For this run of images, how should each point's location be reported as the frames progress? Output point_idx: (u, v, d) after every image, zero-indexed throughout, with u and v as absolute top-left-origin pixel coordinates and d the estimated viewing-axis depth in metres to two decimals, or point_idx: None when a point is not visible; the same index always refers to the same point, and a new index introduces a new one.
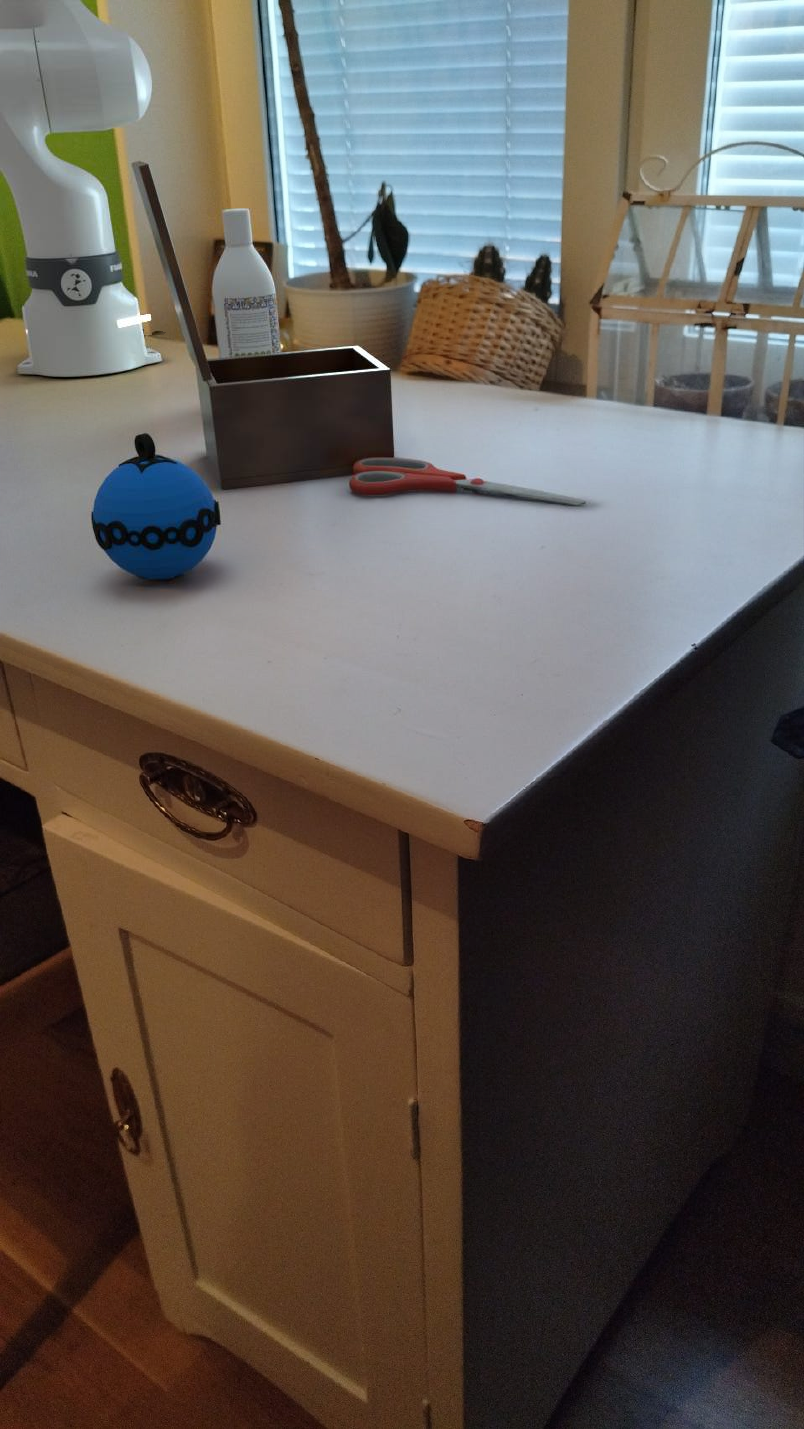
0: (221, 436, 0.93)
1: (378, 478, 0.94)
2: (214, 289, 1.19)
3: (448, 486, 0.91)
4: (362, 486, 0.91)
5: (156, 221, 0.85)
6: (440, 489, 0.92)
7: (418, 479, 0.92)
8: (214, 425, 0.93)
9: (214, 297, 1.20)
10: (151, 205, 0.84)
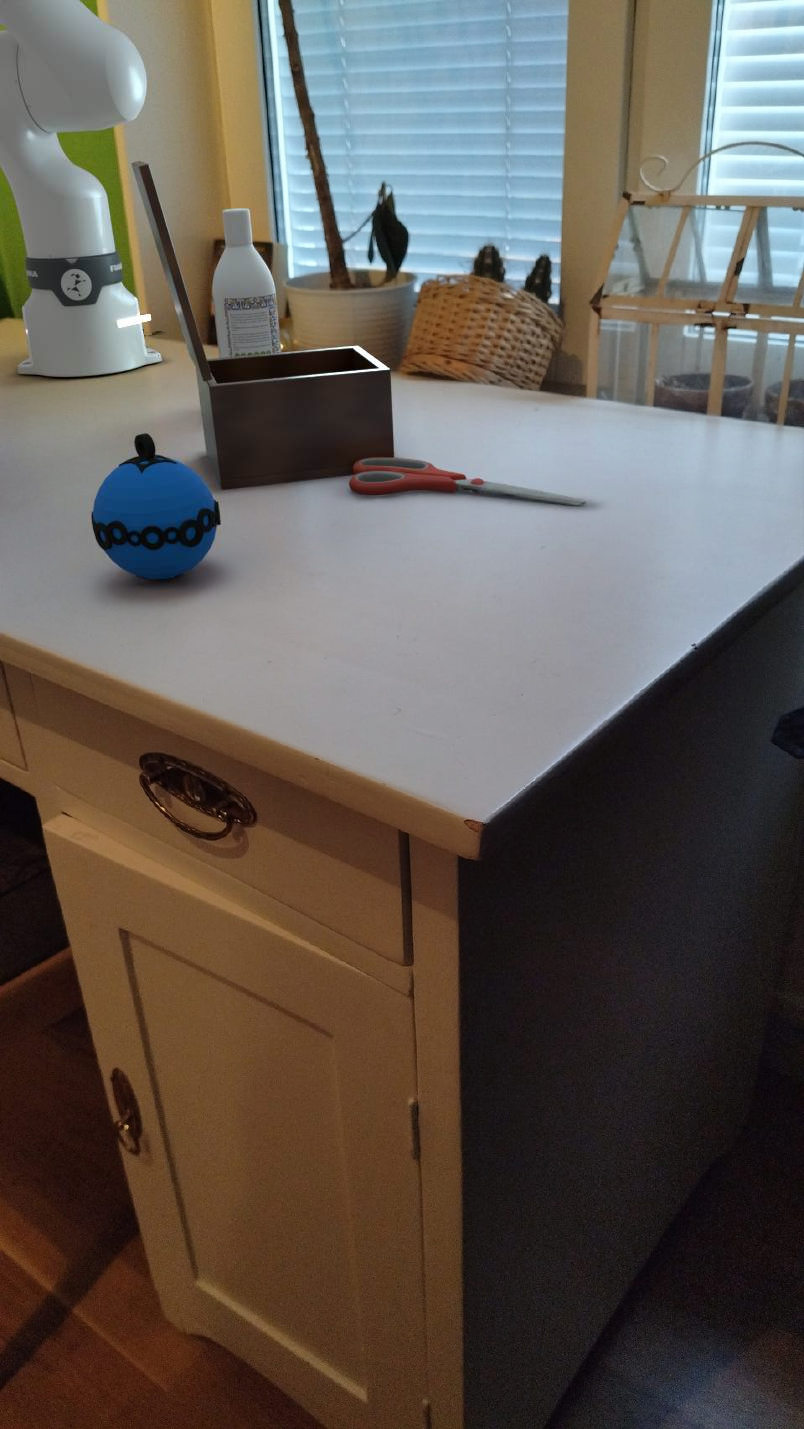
0: (221, 436, 0.93)
1: (378, 478, 0.94)
2: (214, 289, 1.19)
3: (448, 486, 0.91)
4: (362, 486, 0.91)
5: (156, 221, 0.85)
6: (440, 489, 0.92)
7: (418, 479, 0.92)
8: (214, 425, 0.93)
9: (214, 297, 1.20)
10: (151, 205, 0.84)
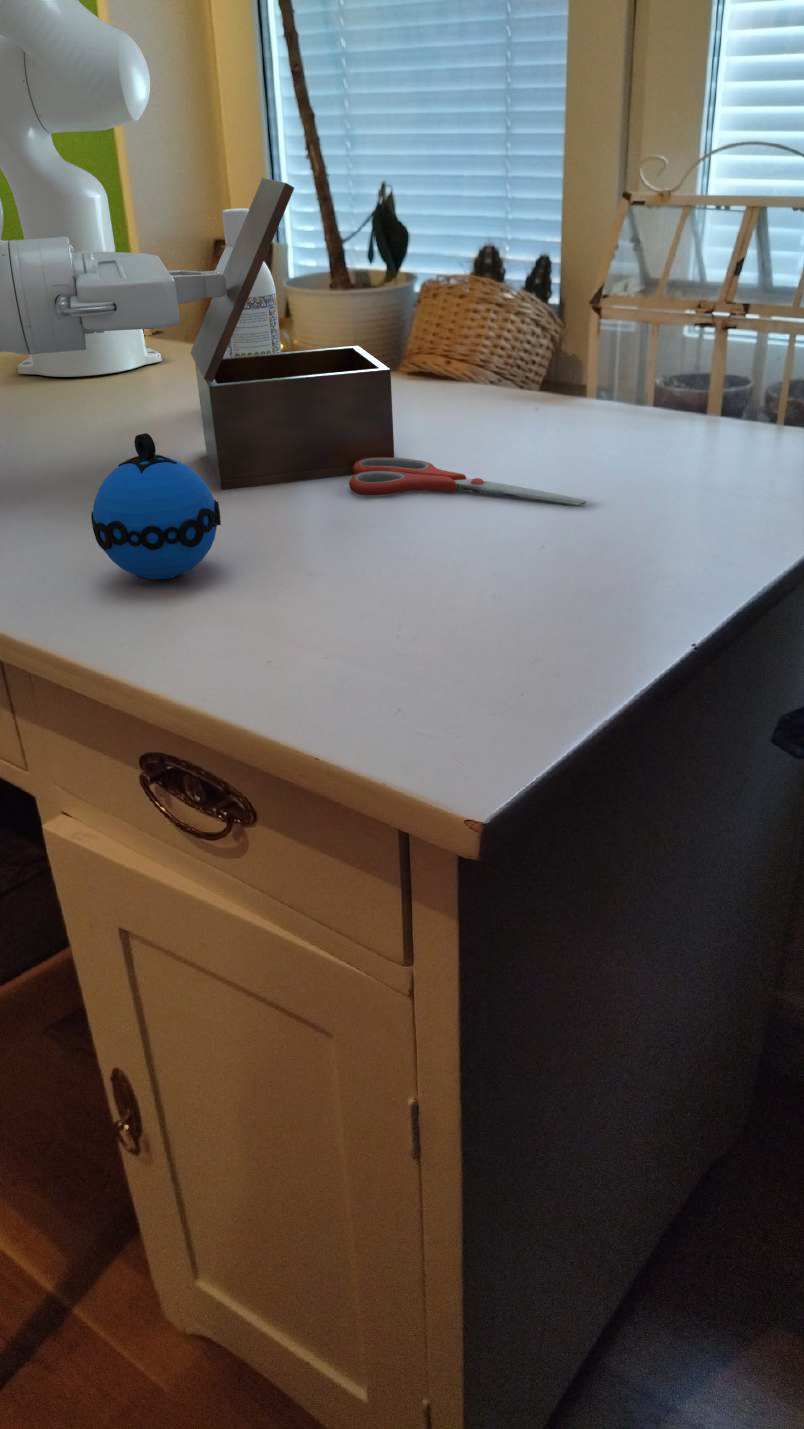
0: (221, 436, 0.93)
1: (378, 478, 0.94)
2: None
3: (448, 486, 0.91)
4: (362, 486, 0.91)
5: (266, 232, 0.87)
6: (440, 489, 0.92)
7: (418, 479, 0.92)
8: (214, 425, 0.93)
9: None
10: (272, 218, 0.87)
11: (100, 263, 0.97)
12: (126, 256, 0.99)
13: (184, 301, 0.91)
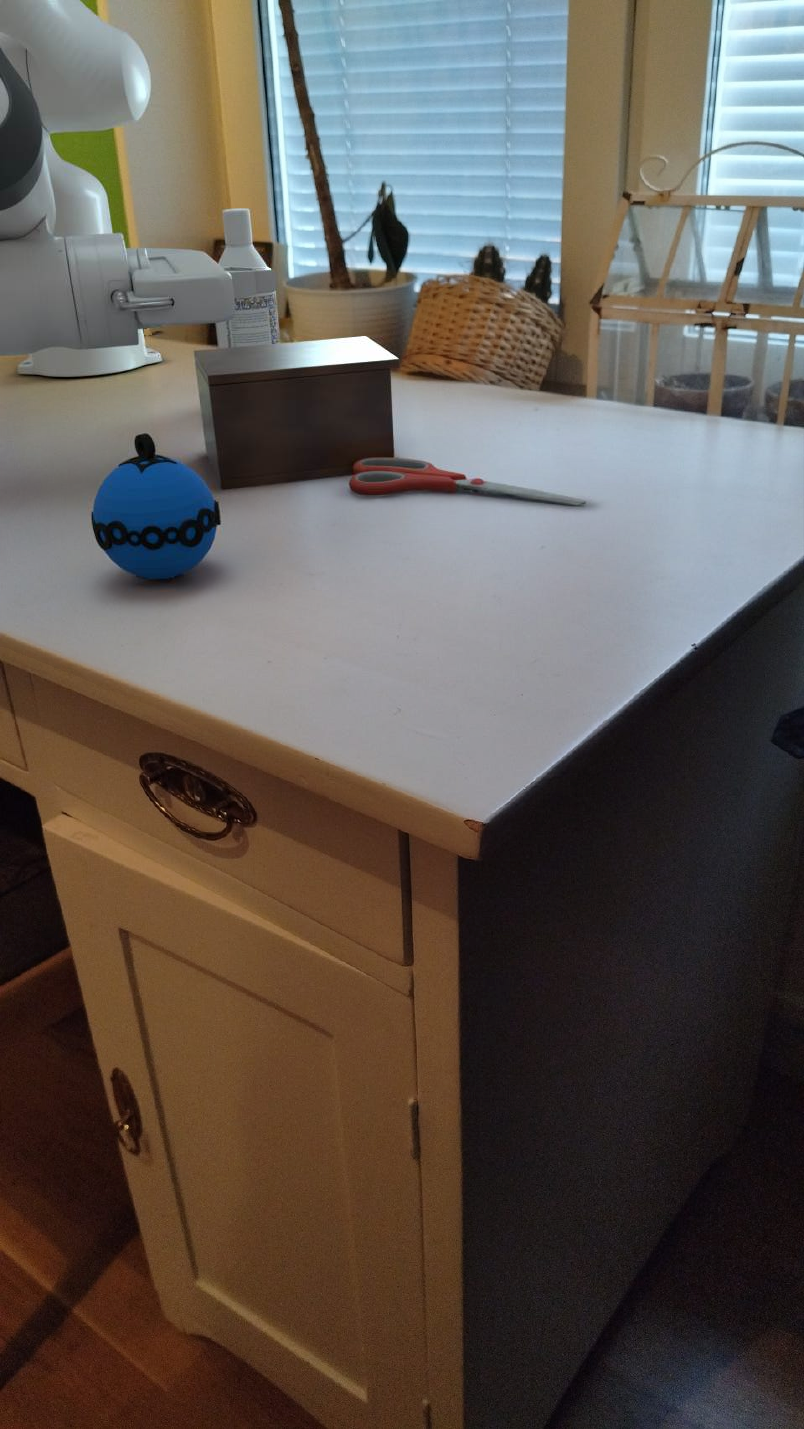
0: (221, 436, 0.93)
1: (378, 478, 0.94)
2: None
3: (448, 486, 0.91)
4: (362, 486, 0.91)
5: (354, 364, 0.94)
6: (440, 489, 0.92)
7: (418, 479, 0.92)
8: (214, 425, 0.93)
9: None
10: (367, 362, 0.94)
11: (149, 259, 0.98)
12: (174, 252, 1.00)
13: (236, 296, 0.92)
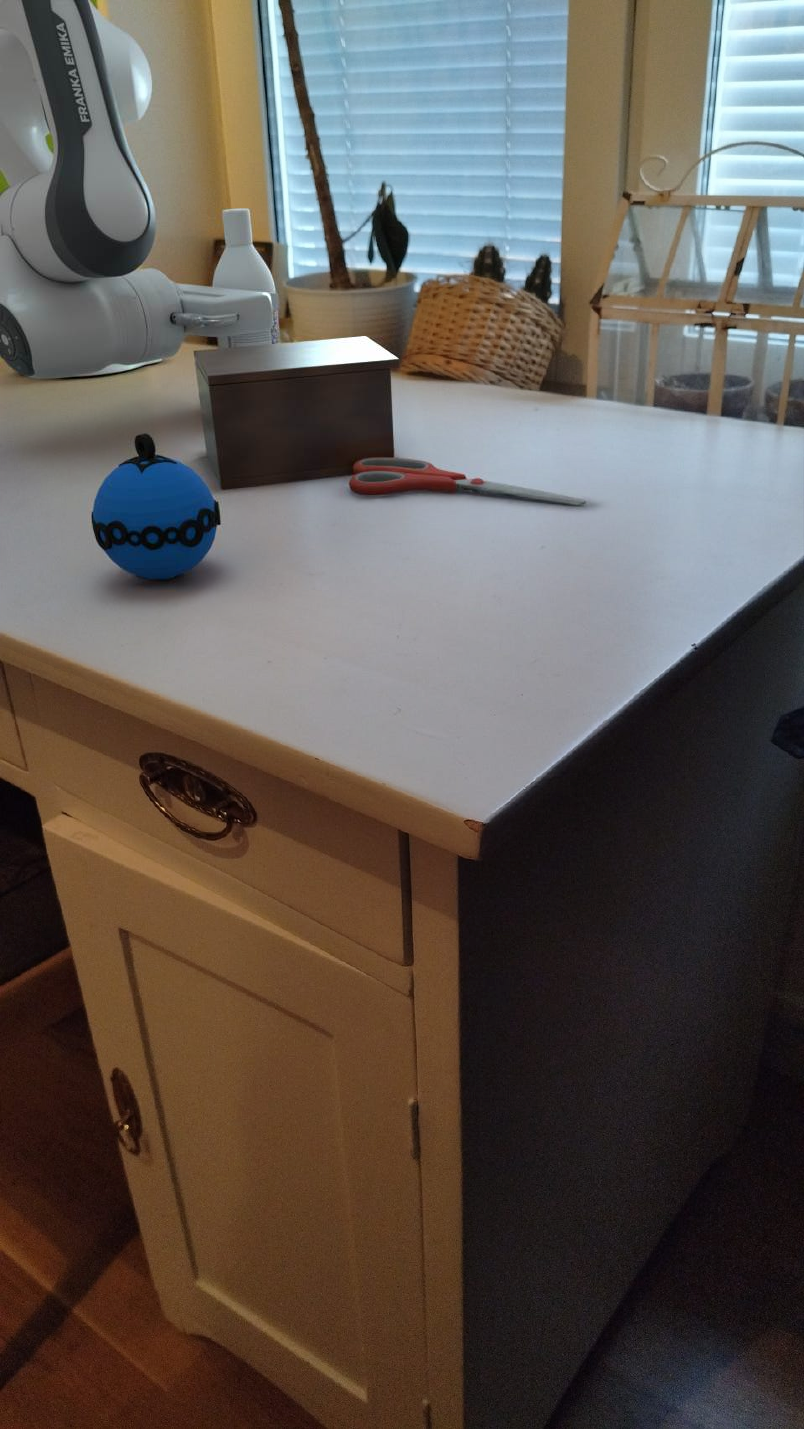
0: (221, 436, 0.93)
1: (378, 478, 0.94)
2: None
3: (448, 486, 0.91)
4: (362, 486, 0.91)
5: (354, 364, 0.94)
6: (440, 489, 0.92)
7: (418, 479, 0.92)
8: (214, 425, 0.93)
9: None
10: (367, 362, 0.94)
11: None
12: None
13: None
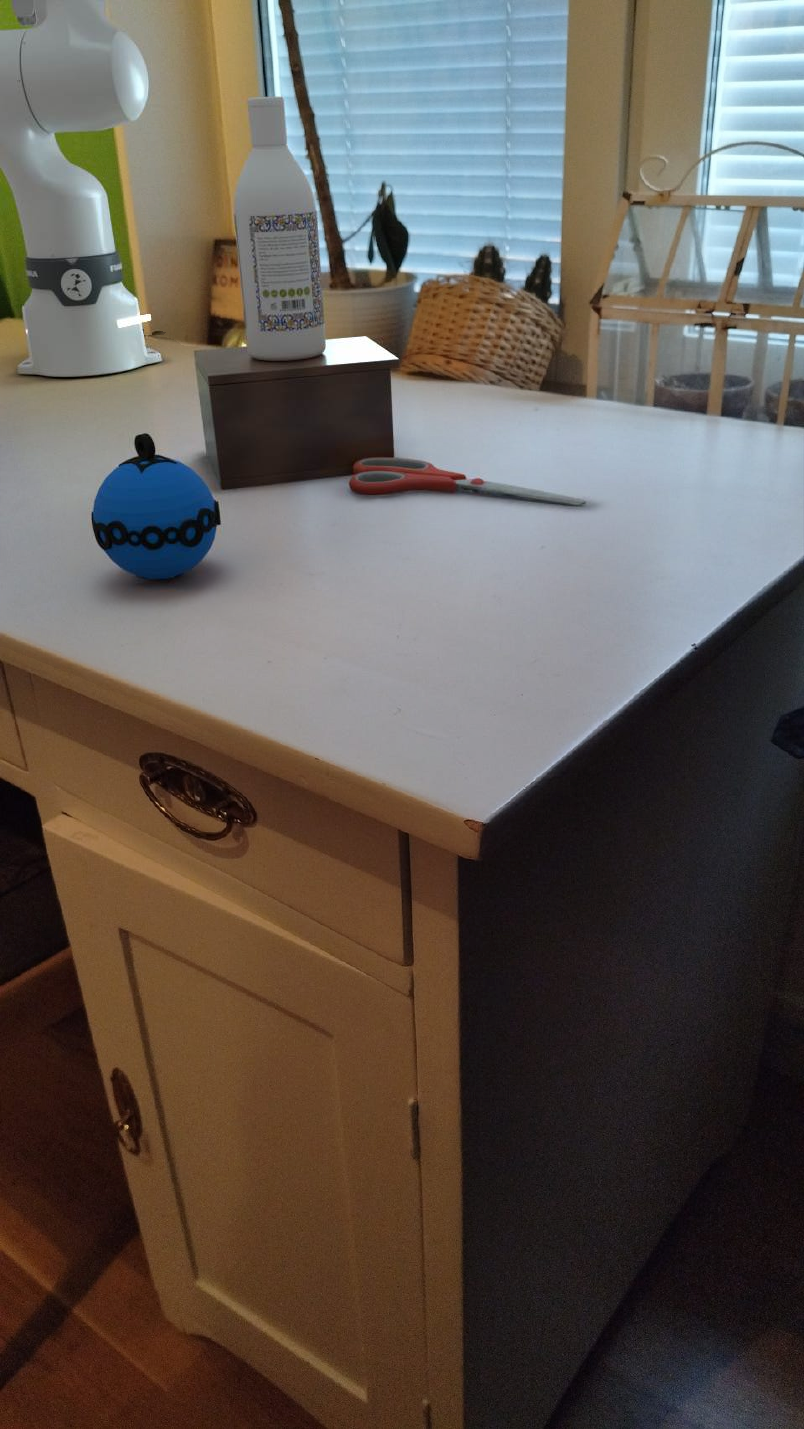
0: (221, 436, 0.93)
1: (378, 478, 0.94)
2: (236, 205, 0.91)
3: (448, 486, 0.91)
4: (362, 486, 0.91)
5: (354, 364, 0.94)
6: (440, 489, 0.92)
7: (418, 479, 0.92)
8: (214, 425, 0.93)
9: (236, 216, 0.91)
10: (367, 362, 0.94)
11: None
12: None
13: None
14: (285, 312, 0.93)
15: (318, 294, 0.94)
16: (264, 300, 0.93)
